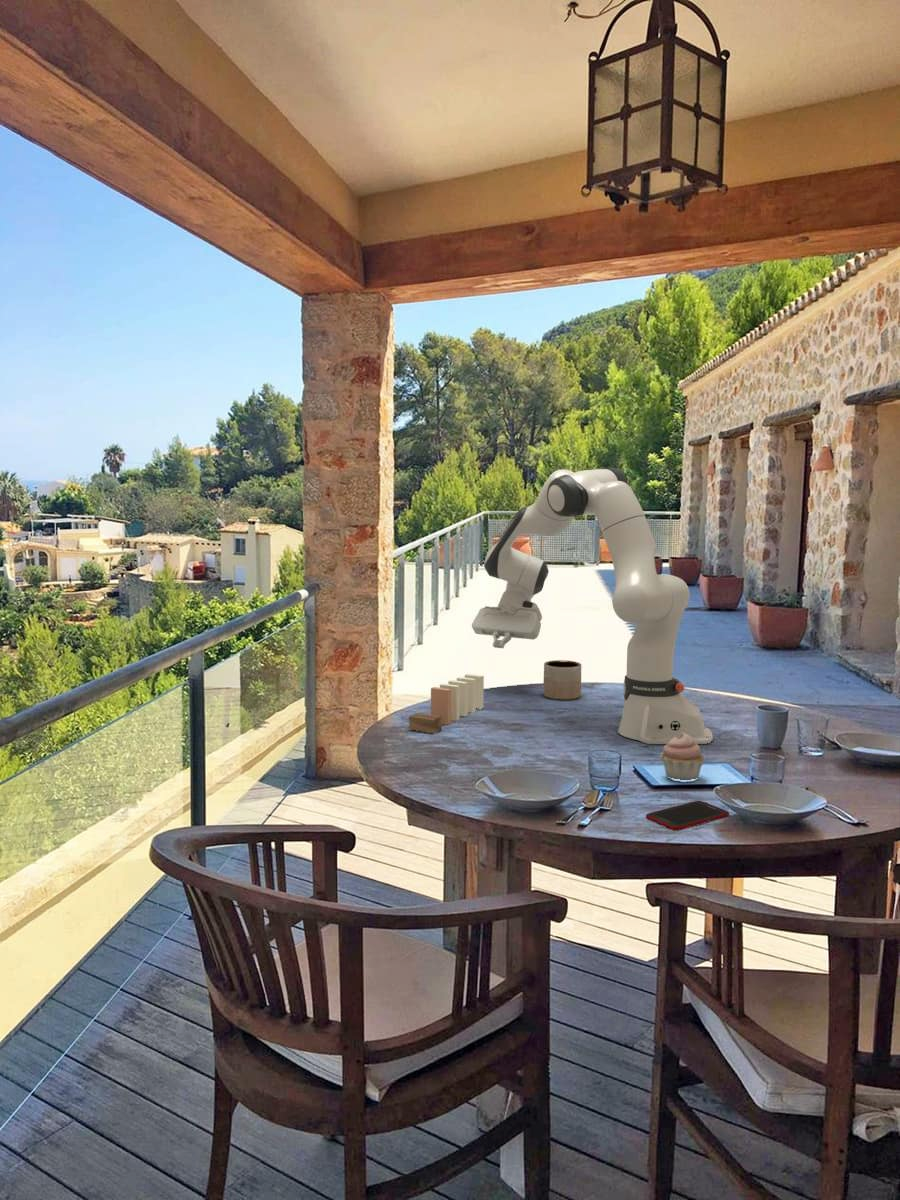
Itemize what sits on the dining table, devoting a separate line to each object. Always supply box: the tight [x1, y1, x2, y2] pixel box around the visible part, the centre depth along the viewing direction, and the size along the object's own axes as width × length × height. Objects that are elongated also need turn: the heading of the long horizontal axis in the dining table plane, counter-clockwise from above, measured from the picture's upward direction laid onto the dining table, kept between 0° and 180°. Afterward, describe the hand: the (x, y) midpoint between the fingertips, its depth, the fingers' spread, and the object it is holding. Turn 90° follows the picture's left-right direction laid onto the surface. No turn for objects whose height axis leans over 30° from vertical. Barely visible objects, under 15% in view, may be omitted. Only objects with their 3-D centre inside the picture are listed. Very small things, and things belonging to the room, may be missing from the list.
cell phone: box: [645, 800, 730, 831], centre depth 166 cm, size 8×15×1 cm, turn 122°
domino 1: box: [430, 686, 452, 726], centre depth 229 cm, size 2×5×9 cm, turn 61°
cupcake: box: [659, 732, 706, 780], centre depth 187 cm, size 9×9×10 cm
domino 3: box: [447, 679, 469, 718], centre depth 237 cm, size 2×5×9 cm, turn 61°
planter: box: [542, 659, 582, 701], centre depth 259 cm, size 11×11×10 cm
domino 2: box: [439, 683, 460, 722], centre depth 233 cm, size 2×5×9 cm, turn 61°
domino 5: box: [464, 673, 485, 710], centre depth 245 cm, size 2×5×9 cm, turn 61°
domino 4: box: [456, 676, 477, 714], centre depth 241 cm, size 2×5×9 cm, turn 61°
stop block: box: [408, 712, 443, 735], centre depth 223 cm, size 4×7×4 cm, turn 61°
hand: (497, 646), depth 256 cm, fingers closed
